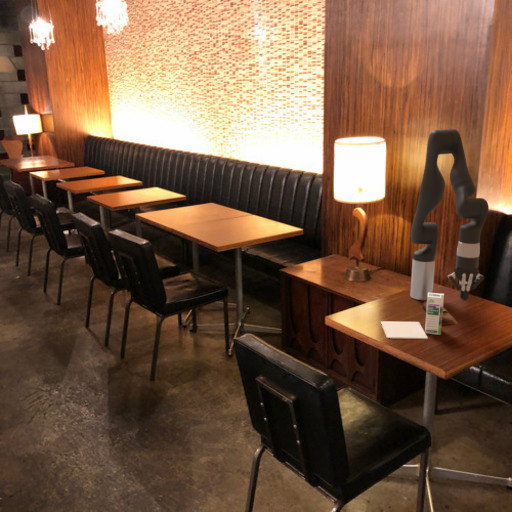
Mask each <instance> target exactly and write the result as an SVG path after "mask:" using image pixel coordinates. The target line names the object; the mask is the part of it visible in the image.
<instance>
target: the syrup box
mask: <svg viewBox="0 0 512 512" xmlns="http://www.w3.org/2000/svg"><path fill="white" fill-rule="evenodd" d="M444 296H445V293H436V292H432V293H430V292H428V297H427V300H426V301H427V310H425V312H426V314H425V325H424V326H425V327H424V332H425V334H426V335H427V334H429V335H430V334H431V335H438V336H441V335H442V314H443V308H444V299H445V297H444Z"/></svg>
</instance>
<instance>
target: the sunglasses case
mask: <svg viewBox="0 0 512 512" xmlns="http://www.w3.org/2000/svg"><path fill="white" fill-rule="evenodd" d="M422 308H423V310H425V311H426V310H427V300H425V301H424V302H423V303H422ZM454 324H456V325H457V324H459V323H458V321H457V320H456V319H455V318H454V316H452V315H451V314H450V313H449V311H448V310H447V309H446V308H445V307H443V314H442V325H454Z"/></svg>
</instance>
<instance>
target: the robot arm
mask: <svg viewBox="0 0 512 512" xmlns="http://www.w3.org/2000/svg"><path fill="white" fill-rule="evenodd" d="M425 154H426V155H425V161H424V162H425V163H424V169H423V174H422V180H421V184H420V189H419V195H418V200H417V206H416V211H415V214H414V216H413V217H414V218H413V219H412V220H413V221H412V224H411V228H410V234H409V236H410V241H411V243H412V244H413V245H425V246H424V247H421V248H419V249H417V250H415V251H414V252H413V253H412V264H411V265H412V267H411V281H410V295H409V296H410V298H412V299H414V300H418V301H419V300H420V301H427V297H428V292H430V293H434V292H433V290H434V280H435V279H434V278H435V264H436V256H437V249H438V242H439V241H438V240H439V227H438V224H437V223H436V222H430V221H429V222H426V219H427V217H428V216H429V215H430V214H431V213H432V212H433V211H434V210H435V209H436V208H437V207H438V206H439V205H440V203H441V202H442V200H443V197H444V195H445V194H444V192H445V188H446V182H445V179H444V176H443V175H442V173H441V170H440V169H439V166H438V165H439V164H438V158H439V155H452V156H453V163H452V167H451V169H450V173H449V182H450V185H451V187H452V190H453V192H454V198H455V213H456V215H457V216H458V217H459V218H460V219H462V220H463V219H464V220H466V219H467V220H469V219H471V220H470V222H469V223H465V224H462V225H461V226H460V227H459V230H458V231H459V233H458V241H457V246H456V247H457V248H456V255H455V256H456V257H455V258H456V259H455V267H454V269H453V272H452V273H450V274H447V278H448V280H449V281H450V282H451V283H452V284H453V286H454V287H455V288H456V290H459V298H460V300H461V301H463V302H464V301H467V300H469V296H470V295H469V294H470V291H472V290H476V288H477V287H478V286H479V285H480V284H481V283H482V282H483V281H484V280H485V276H484V275H483V274H480V273H479V272H480V271H479V259H480V253H481V252H480V251H481V248H480V247H481V245H480V242H481V233H482V229H483V227H484V224H485V222H486V220H487V216H488V213H489V210H490V209H489V204H488V200H486V199H485V198H484V197H472V196H473V195H474V194H475V193H476V186H475V183H474V180H473V179H472V176H471V174H470V170H469V169H468V164H467V160H466V155H465V149H464V145H463V140H462V137H461V134H460V132H459V130H457V129H455V128H446V129H442V128H441V129H434V130H432V131H430V133H429V135H428V138H427V145H426V153H425ZM471 197H472V198H471ZM456 278H457V279H458V281H459V283H457V281H456V280H455V279H456Z"/></svg>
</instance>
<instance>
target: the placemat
mask: <svg viewBox="0 0 512 512" xmlns="http://www.w3.org/2000/svg"><path fill="white" fill-rule="evenodd" d="M380 324H382V325H381V327H382V330H383V332H384V335H385V337H386V339H388V340H389V338H390V339H394V340H395V339H397V340H401V339H403V340H404V339H406V340H428V338H429V337H428V336H427V334H426V333H425V329H424V328H423V327H422V325H421V323H420V321H387V320H386V321H380Z"/></svg>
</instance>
